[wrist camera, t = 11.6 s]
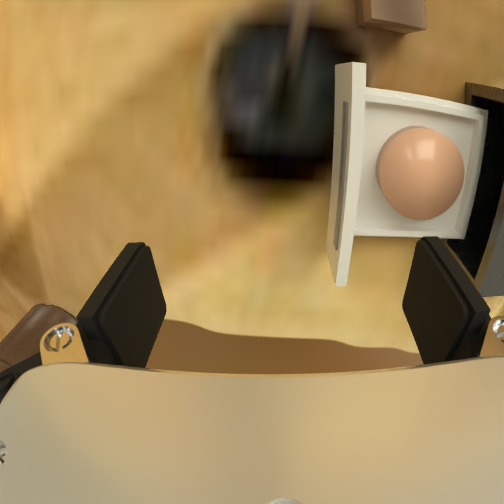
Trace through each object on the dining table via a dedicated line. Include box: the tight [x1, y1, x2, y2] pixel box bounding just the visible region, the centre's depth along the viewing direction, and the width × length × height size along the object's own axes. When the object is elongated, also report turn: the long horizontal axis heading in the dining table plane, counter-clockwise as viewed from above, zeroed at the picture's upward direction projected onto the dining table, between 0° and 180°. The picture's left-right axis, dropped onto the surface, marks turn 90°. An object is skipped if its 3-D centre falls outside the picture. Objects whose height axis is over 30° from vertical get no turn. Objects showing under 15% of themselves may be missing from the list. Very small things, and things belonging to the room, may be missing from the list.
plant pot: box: [0, 304, 78, 373], centre depth 32 cm, size 16×16×16 cm
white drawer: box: [326, 62, 488, 286], centre depth 20 cm, size 14×15×6 cm
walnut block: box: [356, 0, 427, 34], centre depth 16 cm, size 4×4×4 cm
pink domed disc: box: [376, 126, 464, 220], centre depth 21 cm, size 7×7×2 cm
